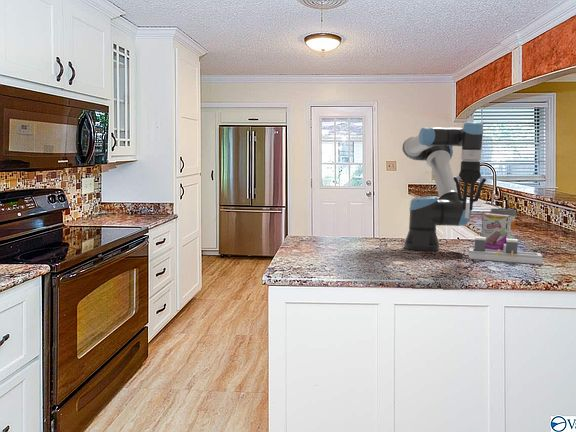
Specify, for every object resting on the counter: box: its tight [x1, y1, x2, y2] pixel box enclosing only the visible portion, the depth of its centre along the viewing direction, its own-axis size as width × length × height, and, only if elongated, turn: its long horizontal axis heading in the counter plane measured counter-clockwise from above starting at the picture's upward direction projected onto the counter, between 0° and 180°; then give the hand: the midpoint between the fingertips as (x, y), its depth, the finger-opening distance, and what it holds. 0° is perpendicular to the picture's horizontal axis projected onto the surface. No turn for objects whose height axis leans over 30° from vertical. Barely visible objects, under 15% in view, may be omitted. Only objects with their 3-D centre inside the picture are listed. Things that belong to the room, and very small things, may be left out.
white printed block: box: [490, 208, 517, 239], centre depth 263 cm, size 13×13×15 cm
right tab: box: [506, 238, 519, 254], centre depth 204 cm, size 4×4×6 cm
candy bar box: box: [480, 212, 512, 250], centre depth 223 cm, size 11×5×16 cm, turn 47°
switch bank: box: [468, 244, 544, 265], centre depth 205 cm, size 27×10×6 cm, turn 71°
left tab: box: [473, 235, 486, 251], centre depth 207 cm, size 4×4×6 cm
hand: (466, 217), depth 209 cm, fingers closed
